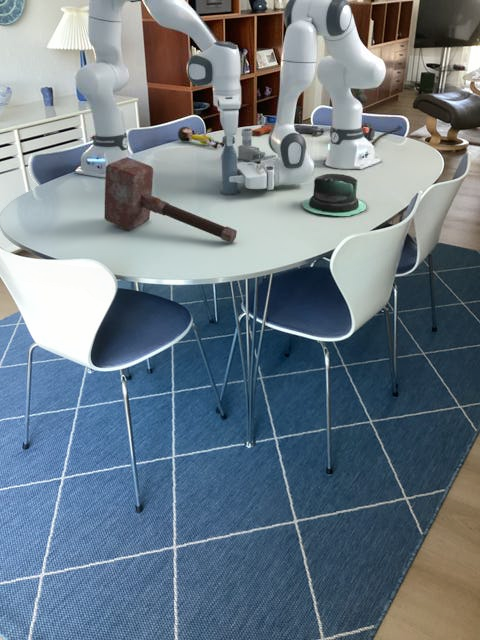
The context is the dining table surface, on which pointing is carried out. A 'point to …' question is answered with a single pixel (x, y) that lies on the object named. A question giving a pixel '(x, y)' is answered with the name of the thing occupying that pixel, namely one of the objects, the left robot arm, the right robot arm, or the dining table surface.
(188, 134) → the figurine
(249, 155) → the camera
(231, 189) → the bottle
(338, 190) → the round two-tone rimmed part
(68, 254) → the dining table surface
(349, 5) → the right robot arm
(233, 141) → the cap
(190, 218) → the sledgehammer
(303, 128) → the submachine gun
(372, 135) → the toy
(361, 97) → the statue
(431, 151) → the dining table surface
